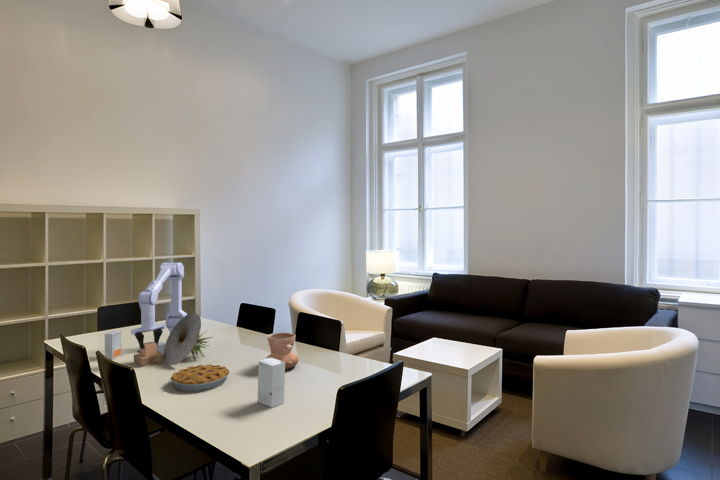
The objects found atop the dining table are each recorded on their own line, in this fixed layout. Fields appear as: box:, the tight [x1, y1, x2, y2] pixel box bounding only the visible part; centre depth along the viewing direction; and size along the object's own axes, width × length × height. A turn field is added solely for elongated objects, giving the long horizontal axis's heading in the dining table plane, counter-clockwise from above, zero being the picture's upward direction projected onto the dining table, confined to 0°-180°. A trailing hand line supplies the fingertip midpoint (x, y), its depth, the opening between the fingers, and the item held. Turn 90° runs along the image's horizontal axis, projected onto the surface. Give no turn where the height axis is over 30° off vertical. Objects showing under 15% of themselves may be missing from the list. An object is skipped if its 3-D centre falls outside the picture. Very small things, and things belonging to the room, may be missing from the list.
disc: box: [164, 312, 214, 366], centre depth 209 cm, size 25×18×25 cm
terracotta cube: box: [140, 341, 157, 357], centre depth 204 cm, size 5×5×5 cm
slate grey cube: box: [157, 341, 166, 354], centre depth 218 cm, size 5×5×5 cm
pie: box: [170, 364, 231, 392], centre depth 177 cm, size 22×22×5 cm
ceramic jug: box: [265, 332, 300, 371], centre depth 195 cm, size 18×14×14 cm
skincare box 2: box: [257, 357, 286, 408], centre depth 156 cm, size 8×6×15 cm
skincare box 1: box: [104, 330, 122, 360], centre depth 212 cm, size 6×4×12 cm
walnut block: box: [133, 351, 166, 368], centre depth 204 cm, size 10×10×4 cm
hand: (149, 347), depth 204 cm, fingers open, 6 cm apart
